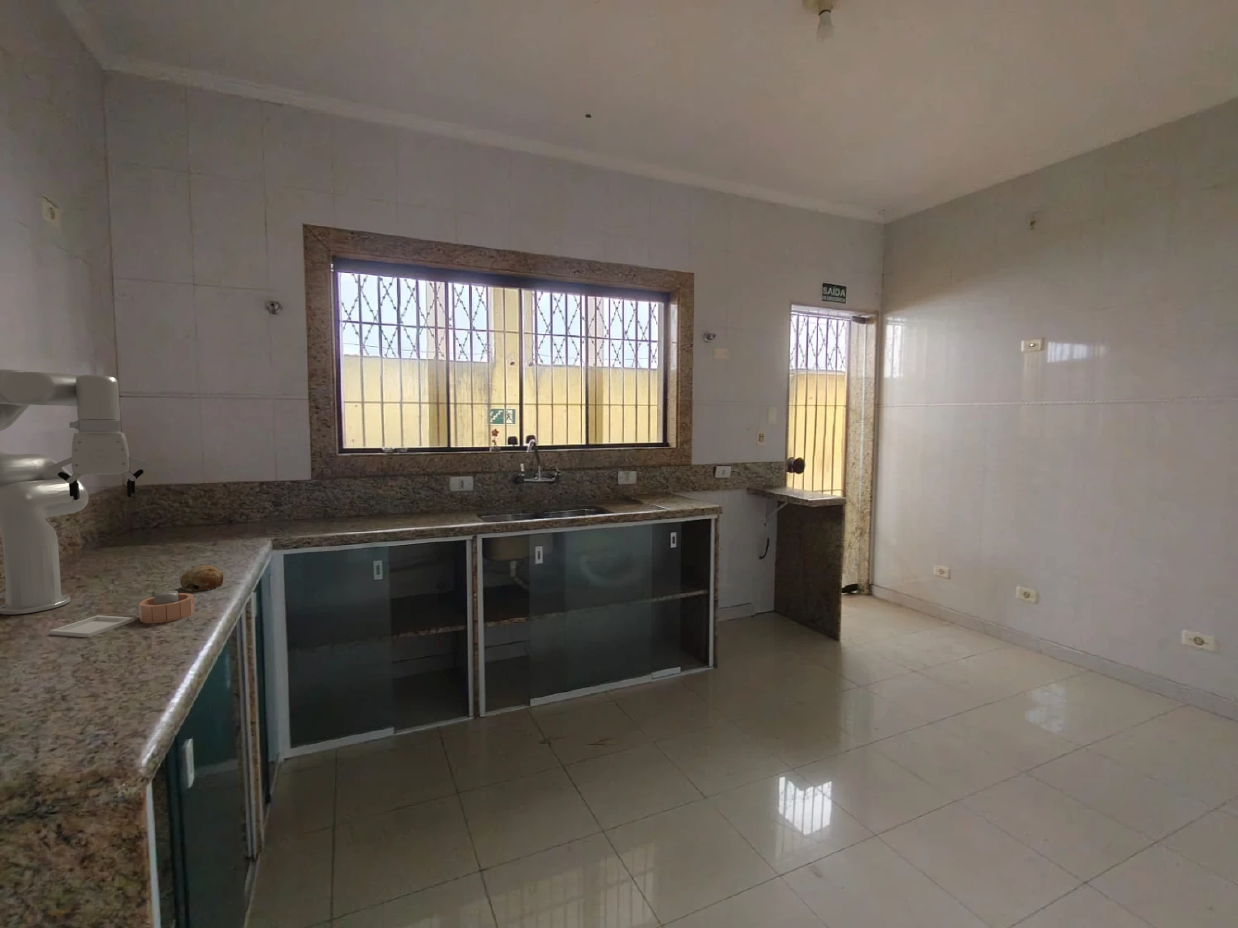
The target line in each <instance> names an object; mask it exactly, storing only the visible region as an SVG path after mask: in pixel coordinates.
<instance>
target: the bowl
mask: <svg viewBox="0 0 1238 928" xmlns="http://www.w3.org/2000/svg"><path fill="white" fill-rule="evenodd" d="M178 600H179V601H178V602H174V603H169V604H162V605H155V604H154V596H152V597H149V598H146V599H143V600H141V601H140V602H139V603H138V617H139V618H138V619H140V622H141V623H145V624H158V623H168V622H171V621H172V622H173V621H176V620H177V621H178V620H180V619H183V618H187V617H190V616H191V615H192V614H193V613H194V612H195V596H194V595H193V594H192V593H190V592H188V593H187V592H186V593H185V592H184V593H183V592H178Z"/></svg>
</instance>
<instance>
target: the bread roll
mask: <svg viewBox="0 0 1238 928" xmlns="http://www.w3.org/2000/svg"><path fill="white" fill-rule="evenodd" d="M223 583H224V573H223V571H222V570H221V569H218V568H217V567H215V566H213V565H210V564H201V565H198V566H195V567H192V568H190V569H188V570H187V571H185V572H184V573H183V574H182V576H181V577H180V586H181V589H182V590H184V591H185V590H187V591H186V592H188V591H190V592H200V591H199V590H202V591H209V590H208V589H210V590H213V589H212V588H214V589H217V588H216V587H218V586H220V587H222V585H223ZM218 588H219V587H218Z"/></svg>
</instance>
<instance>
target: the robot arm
mask: <svg viewBox="0 0 1238 928" xmlns="http://www.w3.org/2000/svg"><path fill="white" fill-rule="evenodd" d="M119 389H120V388H119V382H118V379H116V377H114V376H110V375H100V374H98V375H97V374H83V375H81V374H68V373H59V372H58V373H57V372H56V373H55V372H40V371H39V372H37V371H26V370H22V369H2V368H0V432H2V431H4V430H7V429H9V428H10V427H11V426H12V425H13V424H14V423H15V422H16V421H17V420H18V419H19V418H20V417H21V416H22V415H23V414H24V413H25V411H27V409H28V408H29V407H30V406H31V405H32V406H34V405H35V406H68V407H76V411H77V420H76V421H73V422H69V428H70V429H76V430H77V431H78V432H75V433H73V436H72V443H71V457H69V458H65V459H63V460H61V461H59V462H58V461H56V460H55V459H54V458H52V457H49V456H47V455H44V454H40V453H20V454H16V453H15V454H14V453H13V454H12V453H5V452H3V451H1V450H0V532H1V541H2V552H3V553H2V555H3V563H4V565H3V566H4V577H5V590H4V592H0V599H4V601H5V602H4V604H1V605H0V614H1V615H22V614H30V613H37V612H43V611H47V610H48V611H49V610H52V609H56V608H59V607H62V606H65V605H67V604H69V603H70V601H71V596H69V595H67V594H62V583H61V569H60V555H59V554H60V553H59V541H58V534H57V531H56V530H55V529H54V527H53V526H52V525H50V523H49V522H48V521H47V518H51V517H58V516H63V515H64V516H66V515H71V514H76V513H78V512H80V511H82V510H83V509H85V508H86V507H87V505H88V503H89V498H90V497H89V493H88V490H87V488H86V486H85V485H84V484H83V483H82V482H81V481H80V480H79V478H80V477H81V476H97V475H98V476H99V475H100V476H101V475H102V476H103V475H123V476H125V477H126V478H127V481H126V492H127V498H132V497H133V494H136V480H137V479H138V478H140V476H141V475H143V474H144V473H145V471H146V470H147V468H148V466H149V462H148V461H145V460H144V459H140V458H138V457H135V456H132V455H130V452H129V451H130V450H129V444H128V441H127V436H126V434H125V432H122V431H121V430H122V429H121V427H122V426H121V409H120V407H121V406H120V391H119ZM131 463H132V464H135V465H139V467H138V469H137V471H135V472H134V473H133V472H132V471H130V470H131ZM70 464H71V471H72V473H73V474H72V473H70V472H69V471H68V470H67V469H66V468H65V466H68V465H70Z"/></svg>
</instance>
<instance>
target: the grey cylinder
mask: <svg viewBox="0 0 1238 928" xmlns="http://www.w3.org/2000/svg"><path fill="white" fill-rule="evenodd" d="M178 593H179V591H178V590H165V591H164V590H163V591H161V592H160V591H159V592H157V593H155V594H153V597H154V604H155V605H162V604H169V603H174V602H178V601H179V600H178Z"/></svg>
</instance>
